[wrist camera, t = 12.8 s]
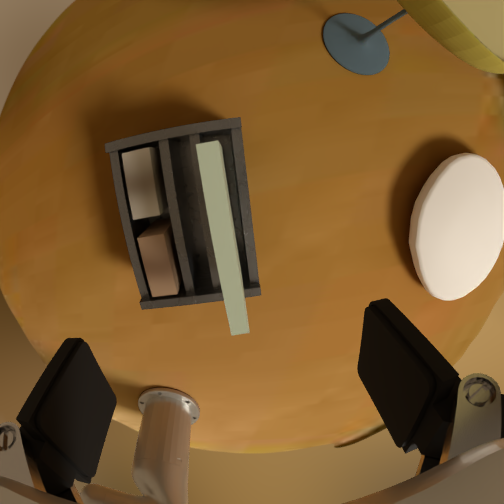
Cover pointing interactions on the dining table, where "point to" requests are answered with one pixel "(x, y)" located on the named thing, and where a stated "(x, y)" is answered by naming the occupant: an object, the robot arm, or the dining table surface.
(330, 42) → the cocktail glass
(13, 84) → the dining table surface
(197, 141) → the rack
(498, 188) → the plate
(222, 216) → the sage sheet
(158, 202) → the brown offcut
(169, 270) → the walnut offcut
